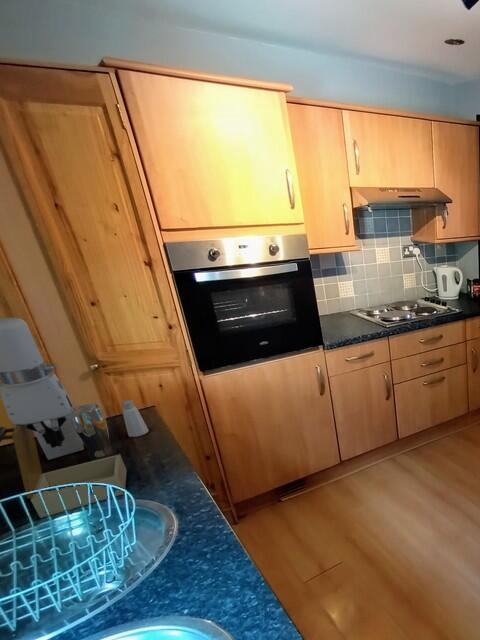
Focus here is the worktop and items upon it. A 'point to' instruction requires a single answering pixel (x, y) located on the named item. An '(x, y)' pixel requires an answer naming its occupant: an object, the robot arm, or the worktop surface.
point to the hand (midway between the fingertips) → (57, 444)
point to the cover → (25, 455)
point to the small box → (68, 445)
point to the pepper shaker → (133, 420)
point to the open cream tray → (93, 472)
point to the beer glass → (93, 431)
